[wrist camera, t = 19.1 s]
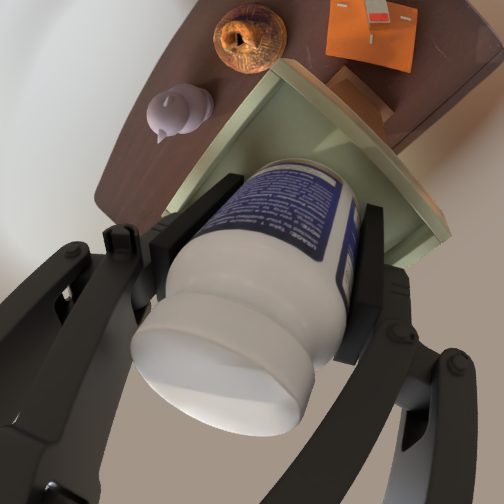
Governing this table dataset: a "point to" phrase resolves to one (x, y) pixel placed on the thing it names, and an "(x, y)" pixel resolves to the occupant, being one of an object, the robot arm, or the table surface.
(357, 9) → the orange flat square block
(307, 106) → the brown wooden square column
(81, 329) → the robot arm
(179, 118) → the cat figurine
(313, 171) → the pill bottle
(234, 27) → the brown rounded piece
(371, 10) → the steel brick red tip
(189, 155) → the table surface
